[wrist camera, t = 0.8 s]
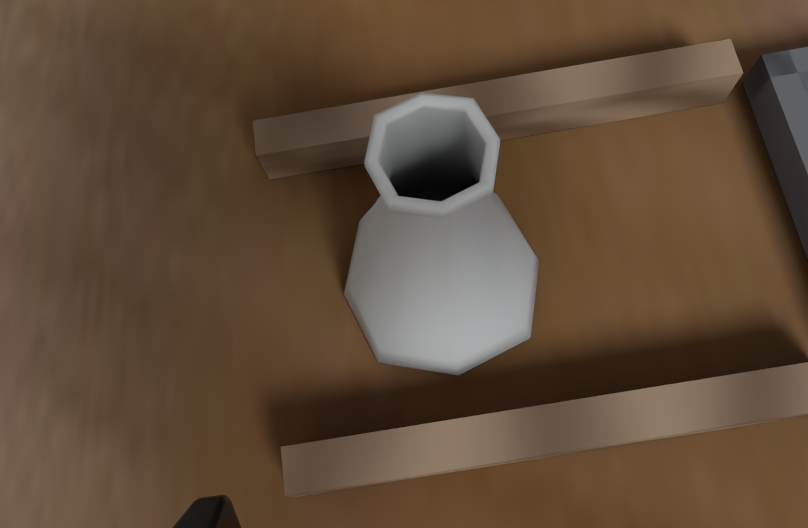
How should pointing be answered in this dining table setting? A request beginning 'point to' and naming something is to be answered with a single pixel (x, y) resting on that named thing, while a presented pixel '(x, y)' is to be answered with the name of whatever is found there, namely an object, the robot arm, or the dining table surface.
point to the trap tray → (784, 124)
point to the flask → (439, 242)
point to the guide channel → (557, 422)
